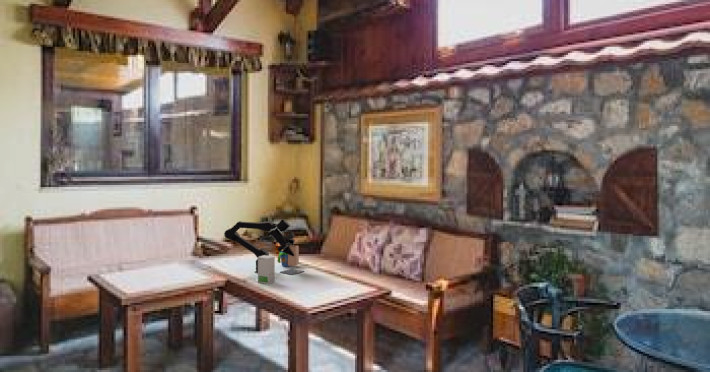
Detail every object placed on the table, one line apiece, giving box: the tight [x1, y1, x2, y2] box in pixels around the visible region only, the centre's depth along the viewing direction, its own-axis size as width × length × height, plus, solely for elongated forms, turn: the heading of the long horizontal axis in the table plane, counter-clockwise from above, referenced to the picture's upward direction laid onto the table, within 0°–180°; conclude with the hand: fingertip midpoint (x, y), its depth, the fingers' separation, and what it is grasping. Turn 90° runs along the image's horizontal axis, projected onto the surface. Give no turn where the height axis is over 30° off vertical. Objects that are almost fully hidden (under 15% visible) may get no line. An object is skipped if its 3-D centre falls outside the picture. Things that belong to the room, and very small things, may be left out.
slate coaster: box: [279, 268, 305, 276], centre depth 339 cm, size 11×11×1 cm
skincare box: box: [257, 255, 276, 285], centre depth 315 cm, size 8×7×16 cm
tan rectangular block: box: [288, 245, 300, 267], centre depth 337 cm, size 5×5×12 cm
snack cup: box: [277, 250, 291, 268], centre depth 357 cm, size 16×10×10 cm
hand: (295, 254), depth 337 cm, fingers closed on tan rectangular block, 5 cm apart
